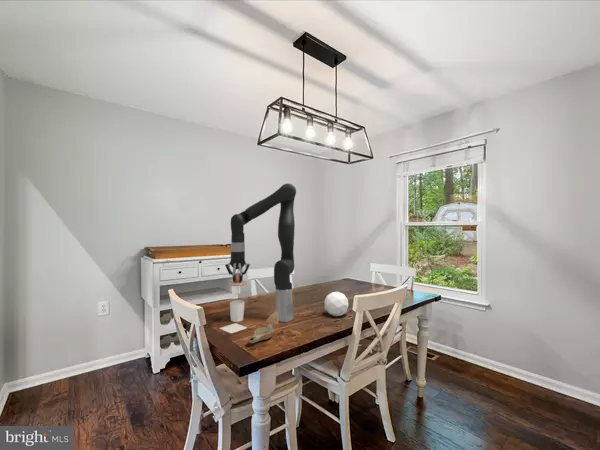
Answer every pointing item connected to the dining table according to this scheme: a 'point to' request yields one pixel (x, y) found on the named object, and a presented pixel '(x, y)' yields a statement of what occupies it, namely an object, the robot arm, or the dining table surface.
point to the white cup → (237, 310)
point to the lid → (237, 281)
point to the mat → (233, 328)
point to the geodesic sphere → (336, 303)
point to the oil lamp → (265, 329)
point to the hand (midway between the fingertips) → (237, 282)
